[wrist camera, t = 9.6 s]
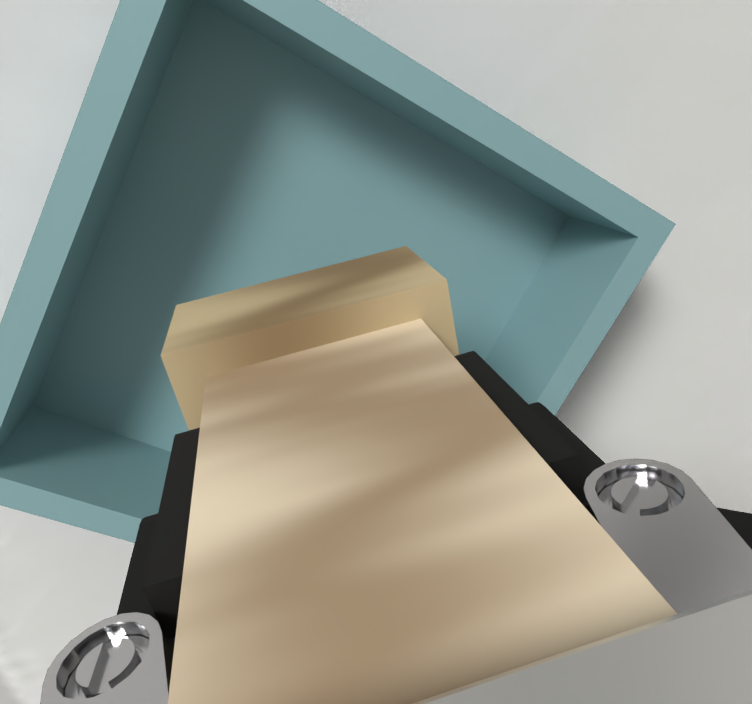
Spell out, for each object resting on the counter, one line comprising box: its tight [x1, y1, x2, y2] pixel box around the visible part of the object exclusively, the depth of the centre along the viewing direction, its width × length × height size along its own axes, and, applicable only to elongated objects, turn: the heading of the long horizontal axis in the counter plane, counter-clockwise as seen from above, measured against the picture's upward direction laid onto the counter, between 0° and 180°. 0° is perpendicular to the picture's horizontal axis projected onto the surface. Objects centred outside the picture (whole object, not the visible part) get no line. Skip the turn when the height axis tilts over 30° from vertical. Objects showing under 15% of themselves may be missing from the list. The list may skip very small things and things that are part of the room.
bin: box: [0, 0, 675, 543], centre depth 19 cm, size 15×15×5 cm
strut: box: [161, 246, 677, 704], centre depth 9 cm, size 5×5×12 cm
